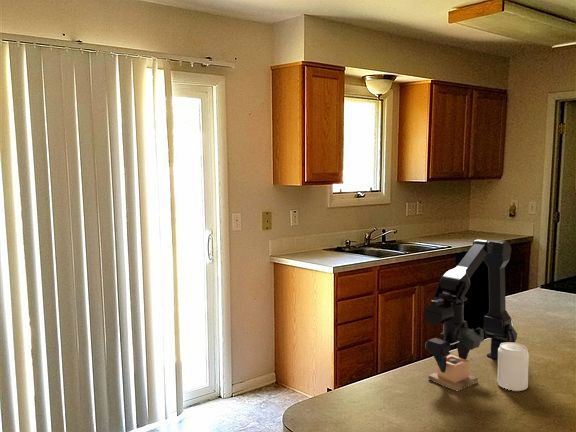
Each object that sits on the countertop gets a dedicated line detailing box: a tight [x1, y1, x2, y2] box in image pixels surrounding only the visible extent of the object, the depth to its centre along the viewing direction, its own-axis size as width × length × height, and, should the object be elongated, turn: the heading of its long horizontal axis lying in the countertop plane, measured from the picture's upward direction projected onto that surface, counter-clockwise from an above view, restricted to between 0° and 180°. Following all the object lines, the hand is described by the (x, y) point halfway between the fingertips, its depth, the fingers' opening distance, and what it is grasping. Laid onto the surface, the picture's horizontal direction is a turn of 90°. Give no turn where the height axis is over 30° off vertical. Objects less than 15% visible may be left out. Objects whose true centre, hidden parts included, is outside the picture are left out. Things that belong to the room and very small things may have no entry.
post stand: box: [428, 359, 479, 391], centre depth 154 cm, size 10×10×6 cm
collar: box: [436, 354, 470, 383], centre depth 154 cm, size 6×6×5 cm
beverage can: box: [497, 342, 529, 392], centre depth 149 cm, size 8×8×12 cm
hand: (453, 368), depth 154 cm, fingers open, 9 cm apart
